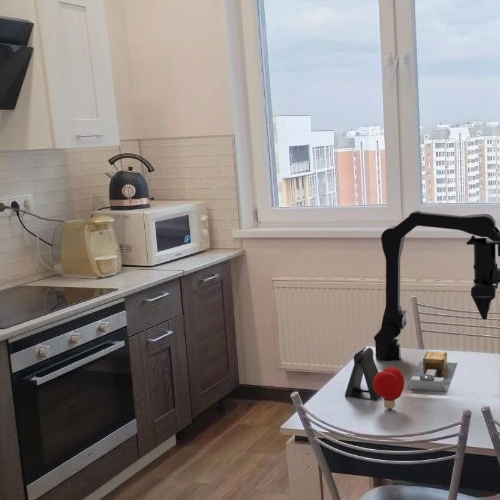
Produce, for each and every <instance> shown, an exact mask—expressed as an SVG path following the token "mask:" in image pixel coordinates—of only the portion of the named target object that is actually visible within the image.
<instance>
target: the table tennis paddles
mask: <svg viewBox="0 0 500 500" xmlns="http://www.w3.org/2000/svg"><path fill="white" fill-rule="evenodd" d="M373 388H374V391H375V392H376V394H377V395H379V396H381V398H382V399H383V407H384V408H385V409H387V410H389V411H391V410H393V409H394V408H395V407H396V400H398V399H399V398H400V397H401V395H402V394H403V392H404V388H405V377H404V374H403V373H402V372H401V370H400V369H399V368H397V367H394V366H393V367H392V366H388V367H385V368H384V369H383V370H381V371H378V373H377V374H376V376H375V377H374V380H373Z"/></svg>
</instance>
